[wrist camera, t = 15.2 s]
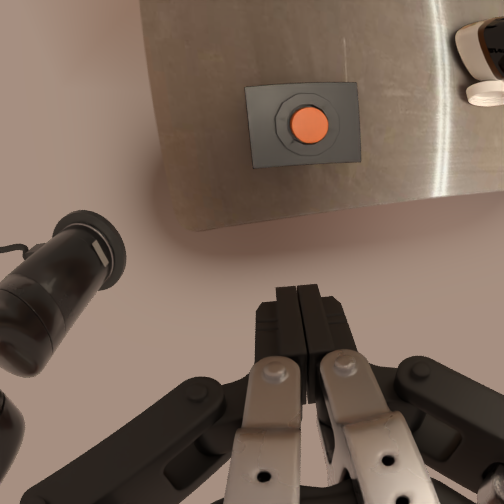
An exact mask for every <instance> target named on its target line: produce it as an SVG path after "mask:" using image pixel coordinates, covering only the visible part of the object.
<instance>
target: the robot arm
mask: <svg viewBox="0 0 504 504" xmlns="http://www.w3.org/2000/svg"><path fill="white" fill-rule="evenodd" d="M14 250H23V258H24V260H25V261H24V262H23V263H21V264H20V265H19V266H18V267H17V268H16V269H14V270H13V271H12V272H11V273H10V274H9V275H8V276H6V277H5V278H4V279H3V280H2V281H1V282H0V367H1V368H3V369H4V370H6V371H8V372H10V373H12V374H14V375H17V376H20V377H24V378H30V377H34V376H36V375H38V374H39V373H40V372H41V371H42V370H43V369H44V367H45V366H46V364H47V363H48V361H49V360H50V358H51V357H52V355H53V354H54V352H55V351H56V349H57V348H58V346H59V345H60V343H61V342H62V340H63V338H64V337H65V336H66V334H67V333H68V331H69V330H70V328H71V327H72V326H73V324H74V323H75V321H76V320H77V318H78V317H79V316H80V314H81V313H82V312H83V310H84V309H85V307H86V306H87V305H88V303H89V302H90V301H91V299H92V298H93V297H94V295H95V294H96V292H97V291H98V290H99V289H100V287H101V286H102V285H103V283H104V282H105V281H106V280H107V279H108V278H109V277H110V275H111V274H112V272H113V270H114V266H115V255H114V251H113V248H112V245H111V243H110V241H109V240H108V238H107V237H106V236H105V235H104V233H103V232H102V231H100V230H99V229H98V228H97V227H95V226H93V225H91V224H89V223H85V222H74V223H71V224H69V225H68V226H66V227H65V228H64V229H63V230H62V231H61V232H60V233H58V234H57V235H56V236H54V237H53V238H52V239H51V240H49V241H48V242H47V243H43V244H36V245H35V246H34V247H33V248H31V249H30V250H28V247H27V246H26V245H23V244H13V245H9V246H5V247H0V253H4V252H9V251H14ZM276 298H277V301H273V302H262V303H261V304H260V306H259V308H258V309H257V310H256V331H255V333H256V334H255V363H254V365H253V367H252V368H251V370H250V372H249V374H247V375H246V376H245V377H243V378H242V379H240V380H238V381H235V382H232V383H228V384H224V385H221V384H220V383H219V382H218V381H216V380H214V379H212V378H209V377H194V378H191V379H188V380H186V381H184V382H182V383H181V384H180V385H178V386H177V387H176V388H174V389H173V390H172V391H170V392H169V393H168V394H166V395H165V396H164V397H163V398H161V399H160V400H159V401H157V402H156V403H155V404H153V405H152V406H150V407H149V408H148V409H146V410H145V411H144V412H142V413H141V414H140V415H138V416H137V417H135V418H134V419H133V420H131V421H130V422H128V423H127V424H126V425H124V426H123V427H121V428H120V429H119V430H117V431H116V432H114V433H113V434H112V435H110V436H109V437H108V438H106V439H104V440H103V441H102V442H100V443H99V444H97V445H96V446H94V447H93V448H91V449H90V450H88V451H87V452H85V453H84V454H83V455H81V456H79V457H78V458H76V459H75V460H73V461H72V462H70V463H69V464H67V465H66V466H65V467H63V468H61V469H60V470H58V471H57V472H55V473H53V474H52V475H50V476H49V477H47V478H46V479H44V480H42V481H41V482H39V483H38V484H36V485H34V486H33V487H31V488H30V489H28V490H27V491H26V492H25V493H24V495H23V496H22V498H21V501H20V504H179V503H180V502H181V501H182V500H184V499H185V498H186V497H187V496H189V495H190V494H191V493H192V492H193V491H194V490H196V489H197V488H198V487H199V486H200V485H201V484H202V483H203V482H205V481H206V480H207V479H208V478H209V477H210V476H211V475H212V474H214V473H215V472H216V471H217V470H218V469H219V468H220V467H221V466H222V465H223V464H225V463H226V462H227V461H228V460H229V459H230V458H231V461H230V468H229V473H228V479H227V485H226V491H225V496H224V498H222V499H220V500H217V501H215V502H213V503H211V504H476V503H474V502H472V501H471V500H469V499H467V498H466V497H464V496H463V495H461V494H459V493H458V492H456V491H454V490H453V489H451V488H450V487H448V486H446V485H445V484H443V483H442V482H440V481H438V480H436V479H434V478H431V477H430V476H429V474H428V471H427V469H426V466H425V464H426V465H427V466H429V467H431V468H432V469H434V470H436V471H437V472H439V473H441V474H442V475H444V476H446V477H447V478H449V479H451V480H453V481H455V482H456V483H458V484H460V485H462V486H463V487H465V488H467V489H469V490H471V491H472V492H474V493H476V494H477V501H478V502H477V504H504V395H502V394H500V393H498V392H496V391H494V390H492V389H490V388H488V387H486V386H484V385H482V384H480V383H478V382H476V381H474V380H472V379H470V378H468V377H466V376H464V375H462V374H460V373H458V372H456V371H454V370H452V369H450V368H448V367H446V366H444V365H442V364H440V363H438V362H436V361H435V360H433V359H430V358H428V357H424V356H412V357H409V358H406V359H405V360H403V361H402V362H401V363H400V364H399V366H398V368H390V367H380V366H375V365H373V364H370V363H368V361H367V359H366V358H365V357H364V356H363V355H362V354H360V353H359V352H358V351H357V348H356V345H355V342H354V339H353V336H352V333H351V331H350V328H349V325H348V323H347V319H346V316H345V315H344V311H343V308H342V305H341V303H340V302H339V301H337V300H336V299H335V298H334V297H333V296H329V297H321V296H320V292H319V289H318V285H317V284H310V285H300V286H297V291H296V286H288V287H276ZM306 390H307V398H308V404H312V403H316V408H317V427H318V432H319V436H320V440H321V445H322V449H323V453H324V457H325V462H326V466H327V473H328V487H324V488H320V487H310V486H302V485H300V457H301V449H300V448H301V429H300V428H301V421H302V405H303V404H306ZM24 431H25V422H24V418H23V415H22V413H21V412H20V411H19V409H18V408H17V407H16V406H15V405H14V404H13V403H12V401H11V400H10V399H9V398H8V397H7V396H6V395H5V394H4V393H3V392H2V391H1V389H0V484H1V483H2V481H3V479H4V478H5V476H6V474H7V472H8V471H9V469H10V467H11V465H12V464H13V462H14V460H15V458H16V455H17V453H18V451H19V449H20V446H21V444H22V441H23V436H24Z"/></svg>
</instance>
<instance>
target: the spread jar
mask: <svg viewBox="0 0 504 504" xmlns="http://www.w3.org/2000/svg"><path fill="white" fill-rule="evenodd" d="M455 44H456V48H457V51H458V54H459V56H460V59H461V61H462V62H463V64H464V66H465V67H466V69H467V70H468V72H469V73H470V74H471V75H472V76H473V77H474V78H475V79H477V80H482V81H484V82H479V83H476V84H473V85H471V86H470V87H468V88H467V90H466V94H467V98H468V101H469V103H471V104H473V105H476V106H497V105H502V104H504V82H503V81H504V16H503V17H495V18H492V19H488V20H484V21H480V22H476V23H472V24H469V25H466V26H464V27H462V28H461V29H460V30H459V31H458V32H457V33H456V35H455Z"/></svg>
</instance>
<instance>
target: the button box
mask: <svg viewBox="0 0 504 504" xmlns="http://www.w3.org/2000/svg"><path fill="white" fill-rule="evenodd" d="M245 97H246V106H247V115H248V125H249V134H250V143H251V153H252V162H253V169H256V168H267V167H279V166H293V165H308V164H326V163H350V162H361V141H360V120H359V104H358V91H357V83H356V82H316V83H290V84H274V85H261V86H250V87H245ZM304 107H313V108H316V109H318V110H320V111H321V112H323V113H324V115H325V116H326V118H327V120H328V131H327V134H326V135H325V137H324V138H323V139H322V140H320V141H318V142H316V143H305V142H303V141H301V140H299V139H298V138H297V137H295V136H294V134H293V133H292V131H291V128H290V120H291V117H292V115H293V114H294V113H295V112H296V111H297V110H299V109H301V108H304Z"/></svg>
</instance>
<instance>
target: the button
mask: <svg viewBox="0 0 504 504" xmlns="http://www.w3.org/2000/svg"><path fill="white" fill-rule="evenodd" d="M290 128H291V131H292V133H293V134H294V136H295V137H297V138H298V139H299V140H301V141H303V142H305V143H316V142H318V141H320V140H322V139H323V138H324V137H325V135H326V134H327V131H328V120H327V118H326V116H325V115H324V113H323V112H321V111H320V110H318V109H316V108H313V107H304V108H301V109H299V110H297V111H296V112H295V113H294V114H293V115H292V117H291V120H290Z"/></svg>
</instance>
